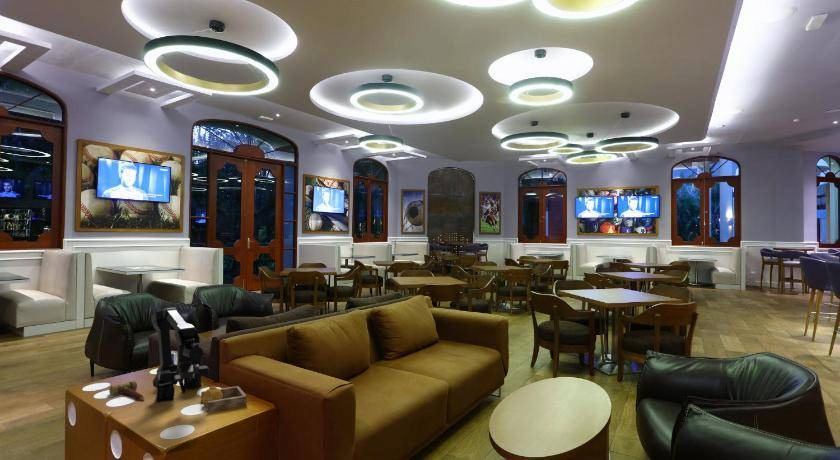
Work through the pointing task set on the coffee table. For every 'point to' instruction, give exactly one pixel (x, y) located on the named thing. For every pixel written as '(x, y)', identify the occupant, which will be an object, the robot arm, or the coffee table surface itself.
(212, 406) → the tray
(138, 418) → the coffee table surface
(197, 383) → the aerosol can
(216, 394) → the fruit
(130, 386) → the gavel
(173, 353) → the beer glass
